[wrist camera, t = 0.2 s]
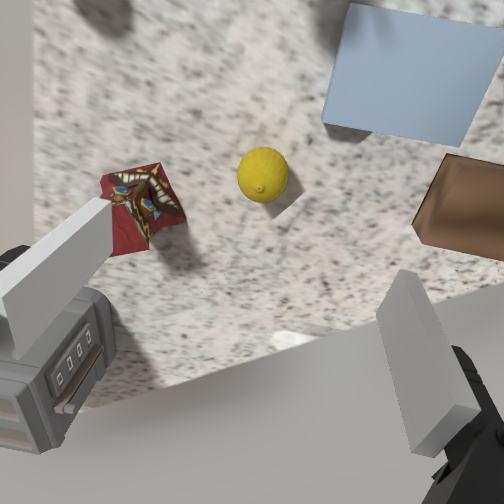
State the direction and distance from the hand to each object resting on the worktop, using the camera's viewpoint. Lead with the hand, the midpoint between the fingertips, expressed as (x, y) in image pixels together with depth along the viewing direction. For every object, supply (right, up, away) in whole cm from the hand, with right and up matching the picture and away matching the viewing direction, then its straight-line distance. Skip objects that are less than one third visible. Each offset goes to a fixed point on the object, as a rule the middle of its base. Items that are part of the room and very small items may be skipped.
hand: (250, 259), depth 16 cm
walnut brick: (+26, +6, +25) cm, 37 cm away
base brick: (+15, +18, +19) cm, 30 cm away
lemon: (+2, +11, +25) cm, 27 cm away
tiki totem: (-14, +7, +30) cm, 34 cm away
